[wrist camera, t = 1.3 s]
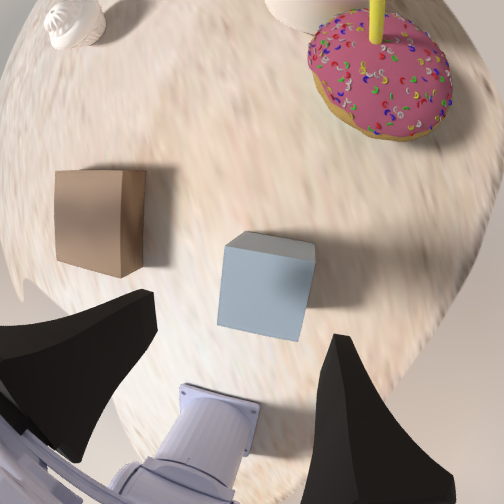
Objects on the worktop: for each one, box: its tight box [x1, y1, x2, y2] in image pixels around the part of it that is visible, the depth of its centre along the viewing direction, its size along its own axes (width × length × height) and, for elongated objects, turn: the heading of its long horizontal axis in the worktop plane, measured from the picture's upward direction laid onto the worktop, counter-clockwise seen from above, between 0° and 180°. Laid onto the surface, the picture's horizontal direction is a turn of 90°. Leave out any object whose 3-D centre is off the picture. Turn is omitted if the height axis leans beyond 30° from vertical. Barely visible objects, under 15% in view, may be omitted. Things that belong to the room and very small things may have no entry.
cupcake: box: [308, 0, 453, 142], centre depth 10 cm, size 9×8×12 cm
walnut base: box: [54, 170, 146, 278], centre depth 21 cm, size 8×8×4 cm
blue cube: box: [217, 231, 316, 342], centre depth 18 cm, size 5×5×5 cm
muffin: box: [44, 0, 106, 50], centre depth 15 cm, size 6×6×7 cm
